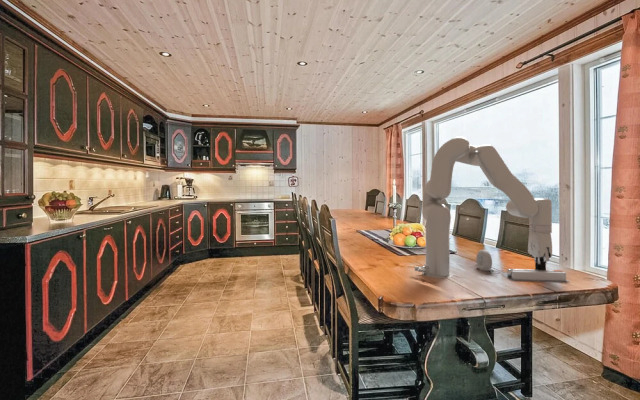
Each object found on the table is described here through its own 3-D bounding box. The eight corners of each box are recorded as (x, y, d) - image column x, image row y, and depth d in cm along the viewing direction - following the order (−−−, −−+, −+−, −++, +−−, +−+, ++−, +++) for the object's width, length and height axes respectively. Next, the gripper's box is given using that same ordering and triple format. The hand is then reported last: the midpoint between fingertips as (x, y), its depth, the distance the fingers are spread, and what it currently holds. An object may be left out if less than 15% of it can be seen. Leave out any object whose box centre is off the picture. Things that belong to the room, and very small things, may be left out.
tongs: (511, 283, 124) (511, 273, 124) (499, 275, 136) (499, 265, 136) (570, 285, 121) (570, 274, 121) (552, 276, 133) (553, 266, 133)
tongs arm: (508, 277, 128) (508, 269, 128) (506, 275, 130) (506, 268, 130) (563, 278, 125) (563, 271, 125) (560, 277, 127) (560, 269, 127)
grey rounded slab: (493, 274, 137) (493, 252, 137) (485, 275, 137) (485, 252, 137) (482, 268, 147) (482, 247, 147) (474, 269, 147) (474, 247, 147)
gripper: (521, 226, 137) (522, 268, 138) (539, 231, 122) (540, 278, 123) (540, 226, 136) (540, 268, 136) (561, 231, 121) (561, 278, 122)
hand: (540, 273), depth 130 cm, fingers closed
